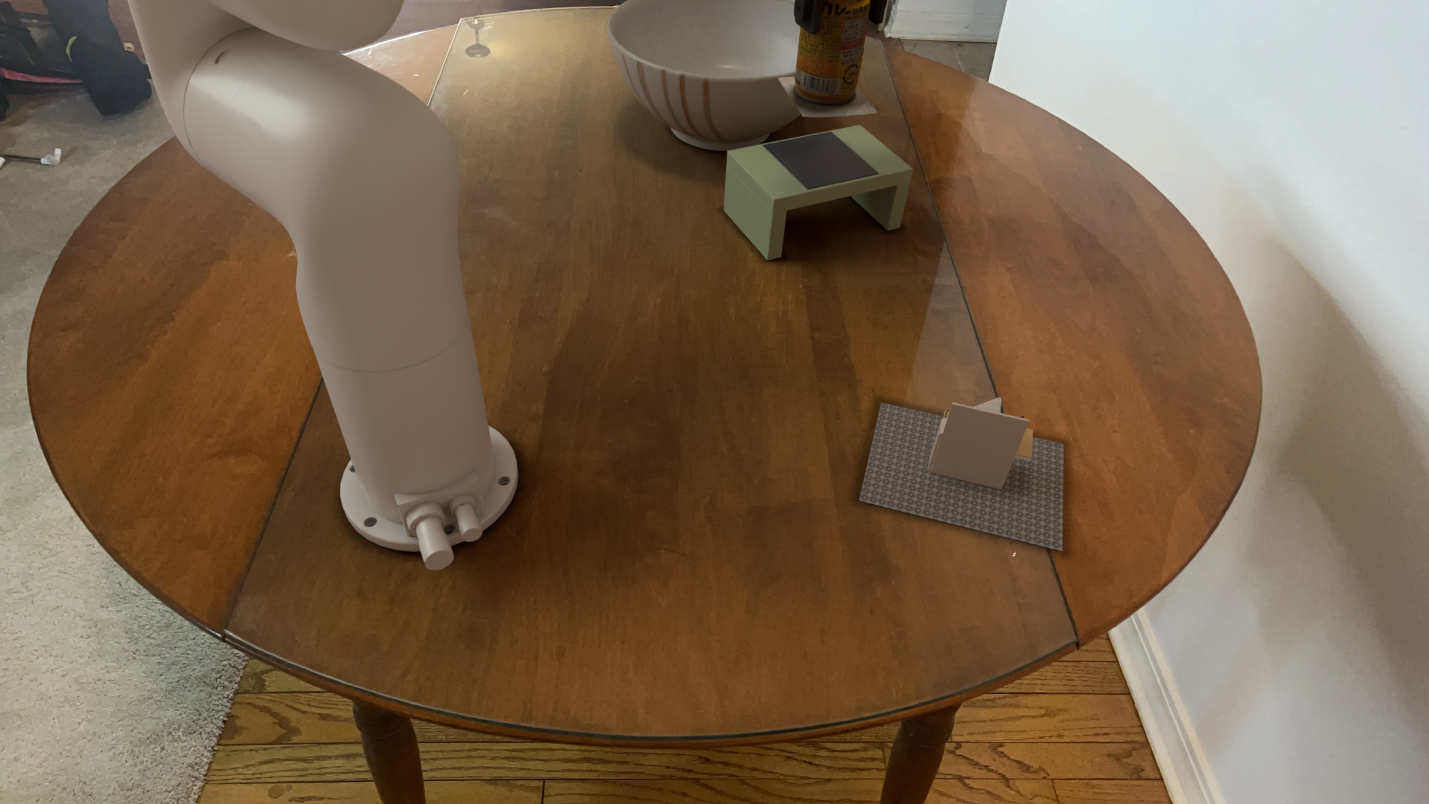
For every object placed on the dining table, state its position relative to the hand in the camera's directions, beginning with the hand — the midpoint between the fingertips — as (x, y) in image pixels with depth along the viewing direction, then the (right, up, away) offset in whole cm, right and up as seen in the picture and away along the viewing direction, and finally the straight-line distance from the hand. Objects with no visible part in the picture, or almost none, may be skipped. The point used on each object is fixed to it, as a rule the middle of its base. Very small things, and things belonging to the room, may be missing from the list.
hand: (838, 21), depth 81 cm
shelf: (-1, -15, +15) cm, 21 cm away
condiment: (-1, -5, +5) cm, 7 cm away
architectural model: (+8, -40, -11) cm, 42 cm away
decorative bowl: (-10, -1, +29) cm, 30 cm away
